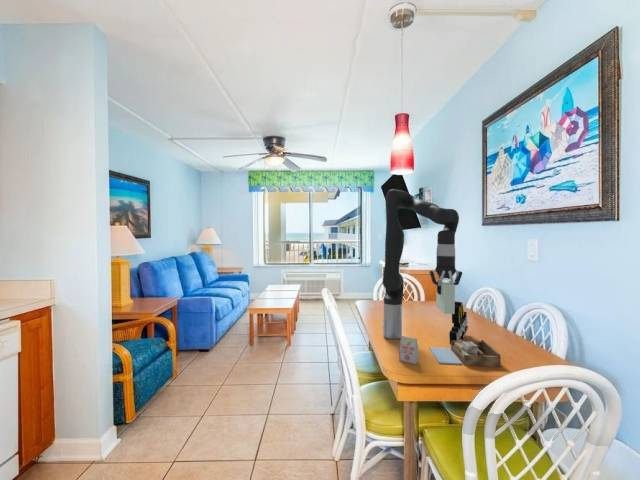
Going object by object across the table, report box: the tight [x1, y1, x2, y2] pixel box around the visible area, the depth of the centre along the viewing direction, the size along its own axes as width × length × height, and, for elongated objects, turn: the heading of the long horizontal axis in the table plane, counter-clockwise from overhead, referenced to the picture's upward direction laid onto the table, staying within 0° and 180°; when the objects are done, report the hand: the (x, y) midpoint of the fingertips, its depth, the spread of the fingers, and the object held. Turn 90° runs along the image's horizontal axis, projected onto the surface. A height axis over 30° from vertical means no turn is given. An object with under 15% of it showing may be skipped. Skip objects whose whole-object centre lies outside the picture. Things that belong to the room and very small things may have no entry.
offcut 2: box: [462, 341, 478, 355], centre depth 136 cm, size 4×6×4 cm
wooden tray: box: [450, 339, 501, 368], centre depth 140 cm, size 14×19×5 cm
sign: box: [448, 301, 469, 345], centre depth 164 cm, size 22×3×20 cm, turn 143°
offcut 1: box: [454, 342, 462, 354], centre depth 145 cm, size 4×7×4 cm, turn 3°
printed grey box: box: [398, 335, 419, 365], centre depth 136 cm, size 4×7×10 cm, turn 53°
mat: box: [428, 346, 463, 366], centre depth 142 cm, size 9×18×1 cm, turn 174°
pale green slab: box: [435, 279, 456, 315], centre depth 142 cm, size 4×14×12 cm, turn 174°
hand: (445, 294), depth 142 cm, fingers closed on pale green slab, 4 cm apart
